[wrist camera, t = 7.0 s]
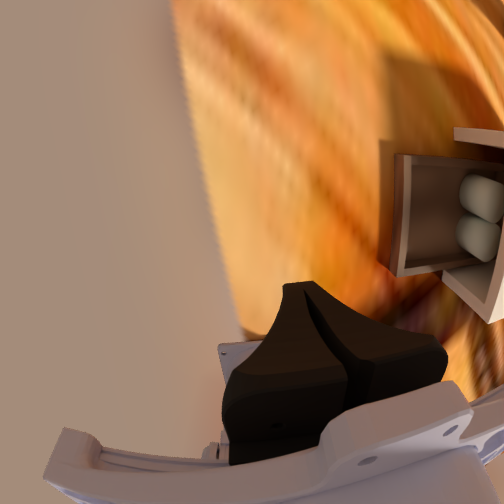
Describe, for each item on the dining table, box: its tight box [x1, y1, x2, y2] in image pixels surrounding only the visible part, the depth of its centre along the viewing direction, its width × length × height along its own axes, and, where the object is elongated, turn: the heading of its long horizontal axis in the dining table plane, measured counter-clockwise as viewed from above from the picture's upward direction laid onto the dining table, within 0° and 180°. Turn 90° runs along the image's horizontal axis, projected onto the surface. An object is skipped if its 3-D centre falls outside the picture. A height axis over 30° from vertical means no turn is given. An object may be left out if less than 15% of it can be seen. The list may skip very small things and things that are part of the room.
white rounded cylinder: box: [455, 213, 501, 262], centre depth 20 cm, size 4×4×4 cm
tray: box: [389, 154, 504, 278], centre depth 21 cm, size 10×14×2 cm
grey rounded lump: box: [459, 173, 504, 223], centre depth 18 cm, size 4×4×4 cm
